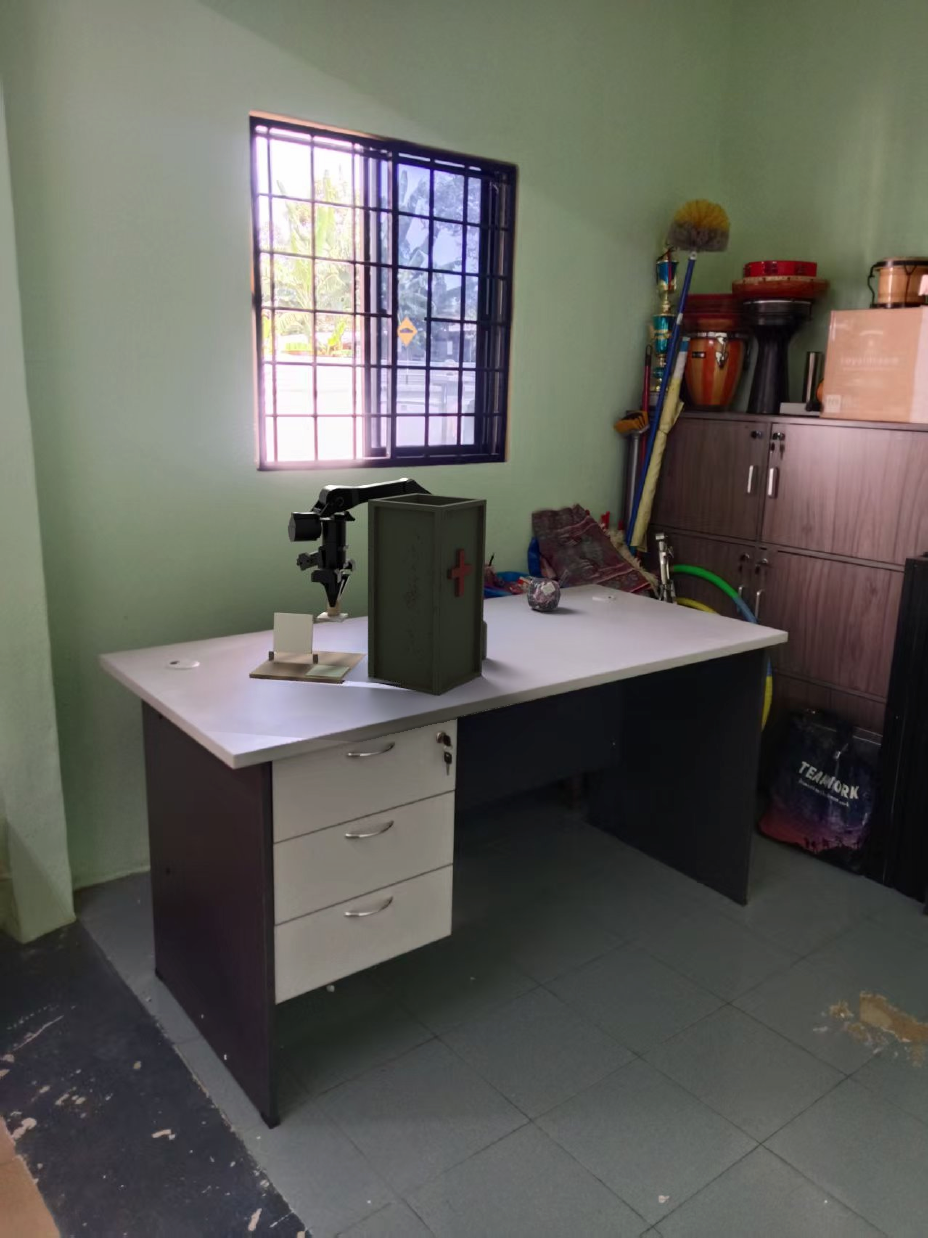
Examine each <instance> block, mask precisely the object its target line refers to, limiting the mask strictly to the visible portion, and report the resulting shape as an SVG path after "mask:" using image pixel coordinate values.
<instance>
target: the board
mask: <svg viewBox="0 0 928 1238" xmlns="http://www.w3.org/2000/svg"><path fill="white" fill-rule="evenodd" d="M366 655H367V653H359V652H358V653H357V652H347V651H346V652H345V651H344V652H343V651H330V650H329V651H328V650H327V651H326V650H324V651H323V650H314V649H312V654H301V653H285V652H273V650H268V659H266V660H265V661H264V662H263V663H262V664H260V665H259V666H258V667H256V668H255V669H253V670H252V671H251V672H250V673H248V675H249V679H258V680H272V681H273V680H275V681H286V682H287V681H289V682H290V681H291V682H304V683H316V684H318V683H319V684H320V683H321V684H332V685H333V684H335V685H342V684H344V682H346V680H345V679H344V678H345V677H346V676H347V675H348V674H349V673H350V672H351V671H352V670H353V669H354V668H355V667H356V665H358V663H359V662H360V661H361V660H362V659H364V657H365V656H366Z"/></svg>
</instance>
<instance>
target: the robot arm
mask: <svg viewBox="0 0 928 1238" xmlns="http://www.w3.org/2000/svg"><path fill="white" fill-rule="evenodd" d="M414 493H418V494H430V495H434V494H433V493H432V492H430V491H428V490H427V489H426V488H424V487H423V486H421V484H419V483H418V482H417V481H416V480H415V479H412V478H408V477H401V478H400V479H395V480H389V481H382V482H377V483H369V484H365V485H359V486H358V485H357V486H354V485H353V486H351V485H331V484H330V485H326V486H324V487H323V488H322V489H321V490H320V492H319V494H318V499H317V500H316V502H315V503H314V505H313V506H312V508H311V509H310V511H309V512H299V511H298V512H297V511H291V513H290V518H289V520H288V521H289V522H288V525H287V533H288V538H289V541H290V542H291V543H303V542H304V543H309V542H317V541H318V539H321V544H320V545H319V546H318V547H317V550H316V551H312V552H307V551H304V552H301V553H299V554H298V556H297V558H296V566H297V567H299V569H300V572H303V571H306V570H307V569H310V568H314V567H316V569H314V570H313V571H312V572H311V573H310V583H320V585H321V586H323V588H324V590H325V593H326V597H327V598H328V602H329V605H330V607H332V608H334V607H335V605H336V603H337V600H338V597H339V594H340V591H341V597H340V599H342V595H343V594H344V591H345V589H346V586H347V584H348V582H349V579H350V577H351V575H352V574H350V573H346V571H345V570H349V571H350V572H354V571H356V561H355V560H354V559H353V558H348V557H347V550H348V549H349V543H347V522H355V521H356V518H355V517H354V516H353V515H352V514H351V513H350V511H349V510H352V509H355V507H358V506H359V505H361V504H366V503H368V500H372V499H379V498H386V497H393V496H400V495H407V494H414Z"/></svg>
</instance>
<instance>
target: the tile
mask: <svg viewBox="0 0 928 1238" xmlns="http://www.w3.org/2000/svg"><path fill="white" fill-rule="evenodd" d="M314 618H315V616H314V614H305V613H287V612H286V613H285V612H274V613H273V636H272V637H273V641H272V644H273V645H272V651H273V652H274V653H277V652H285V653H301V654H312V650H313V642H314V639H313V638H314Z"/></svg>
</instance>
